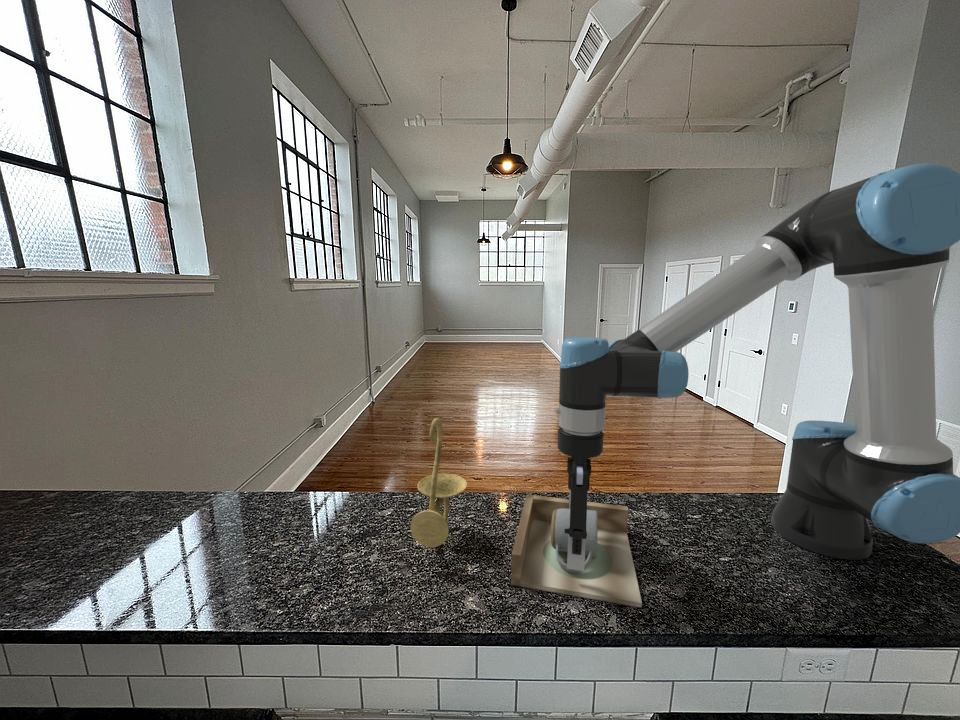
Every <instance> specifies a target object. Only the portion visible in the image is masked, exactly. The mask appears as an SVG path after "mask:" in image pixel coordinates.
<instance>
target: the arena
mask: <svg viewBox="0 0 960 720" xmlns="http://www.w3.org/2000/svg"><path fill="white" fill-rule="evenodd" d="M562 508H566V509H569V499H568V498H561V497H551V496H544V495H536V494H534V495H533V494H528V493H527V494H526V496H525V499H524V503H523V507H522V511H521V515H520V519H519V524H518V527H517V531H516V536H515V540H514V543H513V547H512V552H511V567H510V568H511V570H510V573H511V574H510V585H511V586H517V587H521V588H526V589H527V588H529V589H534V590H538V591H546V592H550V593H556V594H562V595H567V596H573V597H579V598H585V599H591V600H594V601H595V600H596V601H602V602H607V603H613V604H620V605H624V606H630V607H637V608H642V606H643V602H642V596H641V592H640V588H639V582H638V578H637V573H636V569H635V564H634V560H633V555H632V554H633V553H632V551H631V546H630V542H629V537H628V520H629V508H628V506H626V505H619V504H617V505H616V504H610V503H602V502H601V503H599V502H593V501H592V502H591V501H587V510H595V511H597V512H598V513H597V514H598V516H597V517H598V520H597V521H598V524H597V526H598V529H597V533H598V535H597V558H593V557H592V558H591V562H590V564H589V566H588V567H587V569H586V570H584V571H582V572H580V573H572V572H568V571H566V570H565V569H563V568H562V567H561V566H560V565H559V563H558V561H557V557H556V549H554V548H553V547H552V544H551V523H552V514H553V511H554V510H555V509H562ZM567 554H568V552H562V551H559V556H560V559H561V560H562V561H563V562H564V563H566V564H567ZM587 558H588V556H585V561H586V560H587Z"/></svg>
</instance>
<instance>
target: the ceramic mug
mask: <svg viewBox="0 0 960 720" xmlns="http://www.w3.org/2000/svg"><path fill="white" fill-rule="evenodd" d="M597 513H598V512H597V511H595V510H587V521H586V532H587V537H586V545H585V556H588V558H587V560H586V561H585V566H584V570H586V569H587V567H588V566H589V564H590V562H591V558H592V557H593V558H597V535H598V533H597V529H598V526H597V524H598V521H597V520H598V517H597V516H598V514H597ZM569 527H570V509H566V508H562V509H555V510H554V511H553V514H552V523H551V544H552V547H553V548H554V549H556V557H557V561H558V563H559V565H560V566H561V567H562V568H563V569H565V570H566V571H568V572H572V573H580V572H582V571H580V570H573V569H567V564H566V563H564V562H563V561H562V560H561V559H560V556H559V551H562V552H568V534H567V533H565V529H569Z"/></svg>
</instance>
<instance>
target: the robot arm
mask: <svg viewBox="0 0 960 720" xmlns="http://www.w3.org/2000/svg"><path fill="white" fill-rule="evenodd" d="M958 242H960V172H956V171H954V170H953V169H952V168H951V167H949V166H947V165H945V164H943V165H942V164H938V163H931V162H930V163H917V164H916V163H915V164H910V165H906V166H903V167H902V166H901V167H899V168H894V169H893V168H892V169H890V170H887V171H883V172H880V173H879V172H878V173H876V174H875V175H873V176H870V177H868V178H865V179H861V180H859V181H857V182H853V183H851V184H848V185H845V186H842V187H839V188H836V189H833V190H831V191H827V192H825V193H823V194H821V195H820V196H818V197H817V196H816V198H814V199H813V200H811V201H808V203H806V204H805V205H803V206H802V207H801V208H799V209H797V210H796V211H795V212H793V213H792V214H791V215H789V216H787V218H784V219H783V221H781V222H780V223H779V224H777V225H776V226H774V227H773V228H772V229H770V230H769V231H768V232H766V233H765V234H763V235H762V236H761V237H759V238H758V239H757V240H756V241H755V244H754V245H755V246H754V248H753V249H752V250H750V251H749V252H747V253H746V254H745V255H743V256H742V257H740V258H739V259H737V260H736V261H734V262H733V263H732V264H730V265H729V266H728V267H726V268H724V269H723V270H721V271H720V272H719V273H717V274H716V275H715V276H713V277H712V278H710V279H709V280H707V281H706V282H705V283H703V284H702V285H700V286H699V287H697V288H696V289H694V290H693V291H692V292H689V294H687V295H686V296H685V297H683V298H682V299H680V300H679V301H677V302H676V303H674V304H673V305H671V306H670V307H669V308H667V309H666V310H664V311H663V312H661V313H660V314H659V315H657V316H656V317H654V318H652V319H651V320H650V321H649V322H647V323H646V324H644V325H643V326H641V327H640V328H638V329H637V330H635V331H634V332H632V333H631V334H629V335H628V336H627V337H625V338H622V339H617V340H614V341H612V342H611V343H609V341H608V339H606V338H603V337H598V336H597V337H594V336H593V337H592V336H573V337H572V336H571V337H568V338H565V340H564V341H563V342H562V344H561V350H560V351H561V354H560V363H559V396H558V398H559V399H558V401H559V407H556V408H555V409H554V411H555V413H556V414H558V426H559V428H558V429H557V449H558V450H559V452H560V453H562V454H563V455H566V456H567V465H566V466H567V469H566V473H567V476H568V479H567V481H568V482H567V483H568V484H567V488H568V490H569V497H568V498H569V509H570V527H569V529H565V533H567V534H568V554H567V569H573V570H580V571H584V566H585V545H586V537H587V532H586V521H587V502H588V492H589V491H590V483H591V482H590V477H591V475H592V465H591V464H592V460H591V458H596V457H599V456H601V454H602V453H603V451H604V435H605V434H604V432H603V431H604V429H605V423H606V422H605V421H606V408H607V407H606V399H607V396H609V397H632V398H633V397H634V398H653V399H654V398H656V399H657V398H658V399H660V400H661V399H664V398H665V399H666V398H668V399H669V398H679V397H681V396H682V395H683V394H684V393H685V392H686V389H687V386H688V383H689V366H688V362H687V359H686V357H685V355H684V354H682V353H681V352H679V351H680V350H681V349H683V348H684V347H686V346H687V345H689V344H690V343H692V342H693V341H695V340H697V339H698V338H700V337H701V336H702V335H705V333H707V332H708V331H710V330H711V329H713V328H715V327H716V326H717V325H719V324H721V323H722V322H724V321H725V320H726V319H728V318H730V317H731V316H733V315H734V314H736V313H737V312H738V311H740V310H741V309H743V308H745V307H746V306H748V305H749V304H751V303H753V302H754V301H755V300H756V299H758V298H760V297H761V296H763V295H764V294H766V293H767V292H769V291H770V290H771V289H773V288H775V287H776V286H778V285H780V284H781V283H782V282H784V281H789V282H790V281H791V282H792V281H796V280H797V279H799V278H800V277H802V276H803V275H805V274H807V273H808V272H812V270H815V269H817V268H821V267H823V266H826V265H830V264H833V267H832V268H833V278H835V279H837V280H838V281H840V282H841V283H843V284H845V285H846V286H847V291H848V306H849V307H848V308H849V326H850V327H849V329H850V331H849V332H850V347H851V348H850V349H851V351H850V352H851V365H852V369H851V370H852V387H853V404H854V405H853V406H854V409H853V410H854V423H847V422H842V421H841V422H839V421H831V420H804V421H800V422H799V423H797V424H796V426H795V428H794V432H793V435H792V439H791V441H792V444H791V453H790V460H789V461H790V462H789V467H788V476H787V482H786V483H787V484H786V488H785V491H784V493H783V494H782V495H781V497H780V498H779V500H778V501H777V503H776V505H775V506H774V508H773V510H772V513H771V518H770V519H771V520H770V524H771V527H772V526H773V527H772V528H773V530H774V531H776V533H778V535H780V536H781V537H783V538H784V539H786V540H787V541H789V542H790V543H792V544H794V545H796V546H798V547H801V548H804V549H805V550H808V551H810V552H813V553H817V554H819V555H823V556H826V557H830V558H835V559H841V560H846V561H847V560H850V561H857V560H858V561H861V560H864V559H867V558H869V557H870V556H871V554H872V551H873V546H874V545H873V544H874V541H873V540H874V539H873V536H872V533H871V532H872V531H871V527H870V525H869V521H870V522H871V523H873V524H874V525H875V526H876V527H877V528H879V529H880V530H884V531H886V532H888V533H890V534H892V535H893V536H895V537H897V538H899V539H901V540H904V541H906V542H909V543H914V544H934V543H935V544H936V543H941V542H944V541H947V540H950V539H952V538H954V537H955V538H956V537H957V536H958V535H959V534H960V477H959V476H958V475H955V474H954V454H953V450H952V449H951V448H950V447H949V446H948V445H947V444H945V443H944V442H942V441H940V440H939V439H938V438H937V413H936V412H937V410H936V409H937V407H936V404H937V403H936V374H935V373H936V369H935V368H936V367H935V365H936V364H935V363H936V362H935V360H936V359H935V327H934V326H935V323H934V288H933V287H934V286H933V285H934V284H933V283H934V282H933V281H934V280H933V277H934V276H935V274H936V273H937V272H939V271H940V270H941V269H942V268H943V267H945V266H946V265H947V264H948V263H950V247H952V246H954V245H955V244H956V243H958Z"/></svg>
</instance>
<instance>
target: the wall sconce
mask: <svg viewBox="0 0 960 720" xmlns="http://www.w3.org/2000/svg"><path fill="white" fill-rule="evenodd" d="M442 424H443V423H442V421H441V419H440V418H439V417H435V418H434V419H433V420H432V421H431V423H430V429H429V442H430V443H432V444H436V447H435V454H434V462H433V465H432V466H433V468H432V473H431V475H428V476H426V477H424V478H422V479H420V480H419V481H418V483H417V490H418V491H419V493H421V494H422V495H424V496H426V497H428V498H429V504H428V506H429V507H428V509H427V510H422V511H420V512H418V513H416V514H415V516H413V518H412V520H411V524H410V531H411V534H412V537H413V539H414V540H415V541H416V542H417V543H419V544H420V545H422V546H423V547H427V548H436V547H440V546H441V545H443V544H444V543H445V542H446V540H447V539H448V536H449V533H450V529H449V524H448V520H449V512H450V511H449V510H450V498H453V497H455V496H458V495H460V494H462V493H463V492H464V491H466V488H467V486H468V482H467V480H466V479H465V478H464V477H462V476H460V475H458V474H454V473H439V466H440V461H441V454H442V446H443V425H442ZM436 431H437V432H436ZM443 506H444V507H443ZM442 508H443V512H441V509H442Z"/></svg>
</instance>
